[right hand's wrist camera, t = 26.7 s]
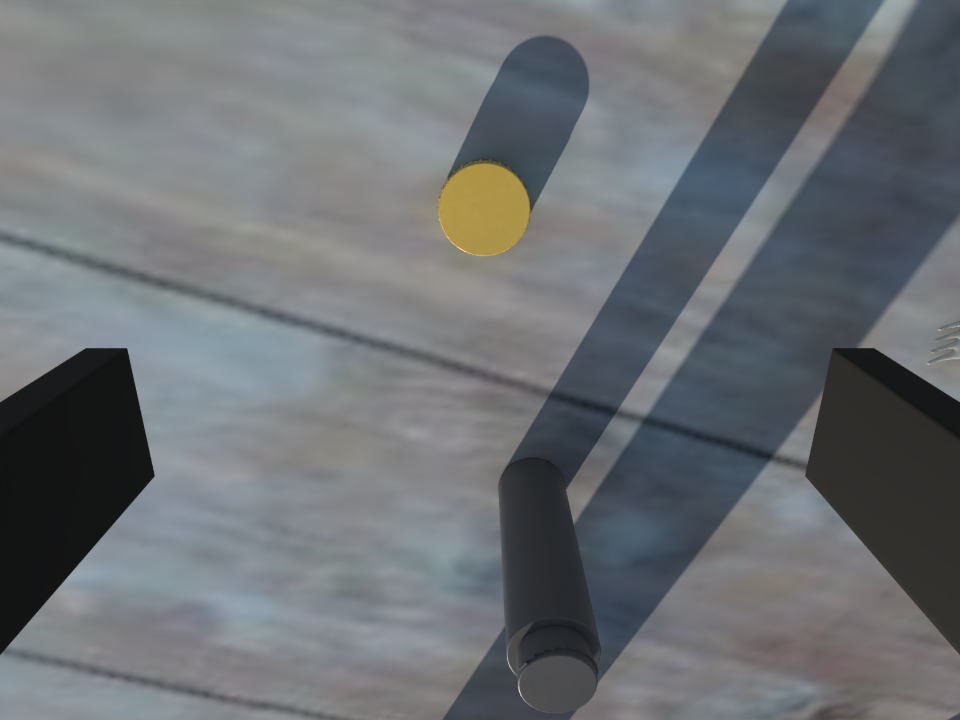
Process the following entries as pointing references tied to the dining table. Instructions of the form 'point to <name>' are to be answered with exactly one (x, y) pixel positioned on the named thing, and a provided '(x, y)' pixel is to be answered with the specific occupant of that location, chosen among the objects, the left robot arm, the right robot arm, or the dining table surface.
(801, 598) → the dining table surface
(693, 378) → the dining table surface
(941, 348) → the fork
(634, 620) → the dining table surface
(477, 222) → the lid
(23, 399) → the right robot arm
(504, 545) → the dark grey cylinder
